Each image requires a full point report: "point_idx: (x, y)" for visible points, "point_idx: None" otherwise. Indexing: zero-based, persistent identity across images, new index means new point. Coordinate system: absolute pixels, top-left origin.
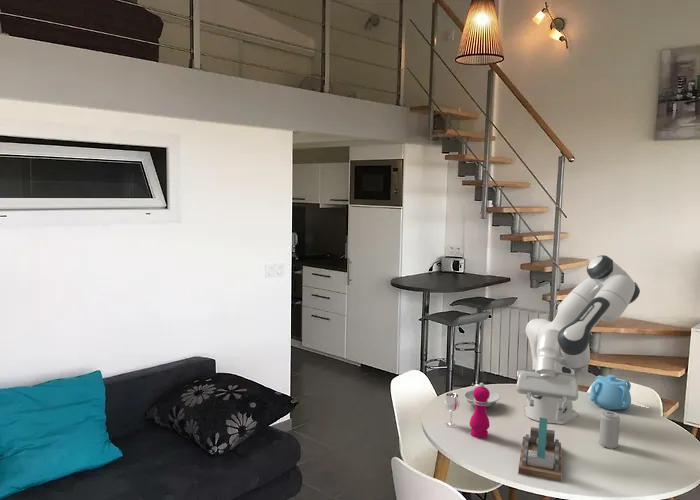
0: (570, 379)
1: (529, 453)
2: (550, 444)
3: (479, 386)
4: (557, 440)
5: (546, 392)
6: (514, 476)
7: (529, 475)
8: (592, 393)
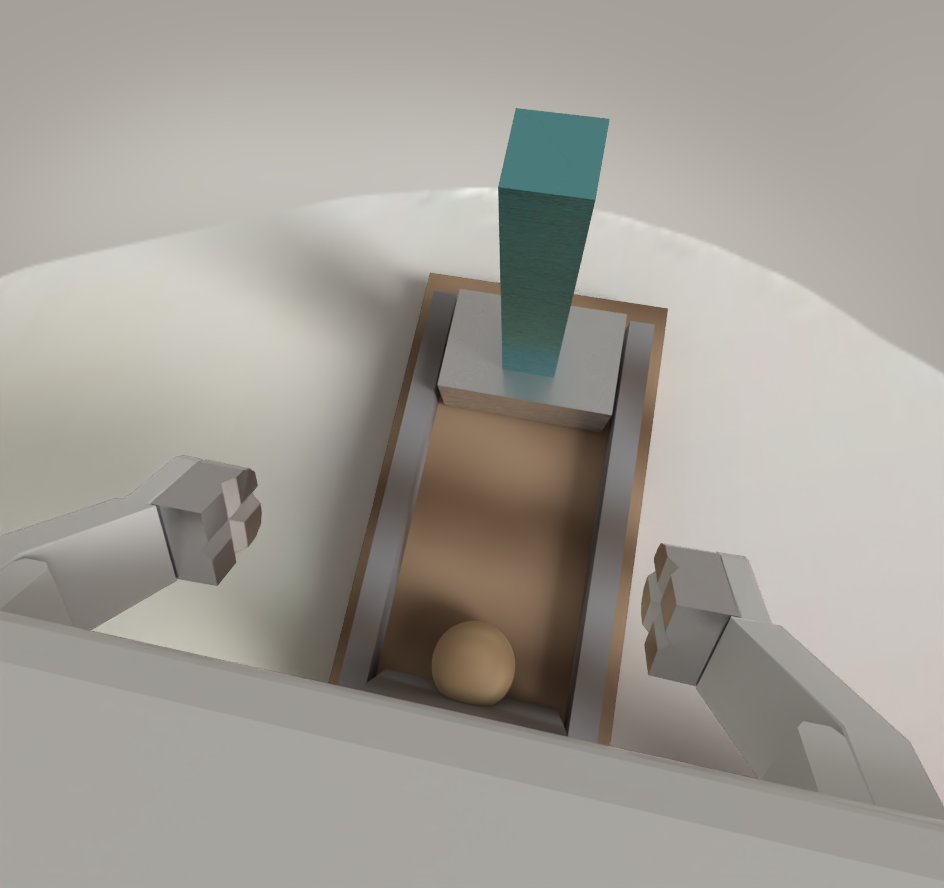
0: None
1: (611, 354)
2: (404, 677)
3: None
4: None
5: (377, 697)
6: (680, 290)
7: None
8: None
